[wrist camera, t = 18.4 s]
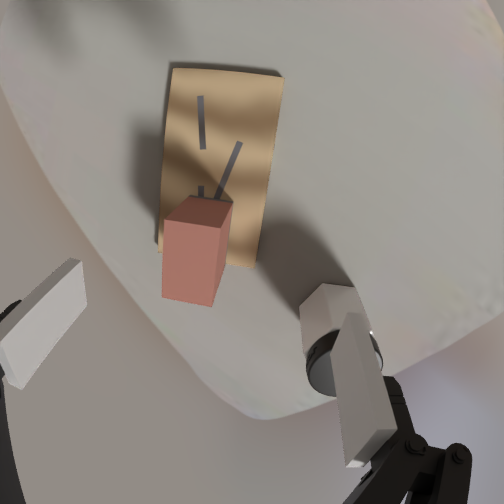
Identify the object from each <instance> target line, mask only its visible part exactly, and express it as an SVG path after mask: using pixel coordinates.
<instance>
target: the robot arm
mask: <svg viewBox="0 0 504 504" xmlns="http://www.w3.org/2000/svg"><path fill="white" fill-rule="evenodd" d="M86 306H87V301H86V294H85V285H84V277H83V268H82V261H81V260H77V259H73V258H69V259H68V260H67V261H66V262H65V263H63V264H62V265H61V266H60V267H59V268H58V269H56V270H55V271H54V272H53V273H52V274H51V275H50V276H48V277H47V278H46V279H45V280H44V281H43V282H42V283H41V284H40V285H39V286H37V287H36V288H35V289H34V290H33V291H32V292H31V293H30V294H29V295H28V296H27V297H26V298H25V299H24V300H23V301H22V300H18V301H16V302H14V303H12V304H11V305H9V306H8V307H7V308H6V309H5V310H4V312H2V313H1V314H0V504H26V502H25V499H24V496H23V492H22V489H21V485H20V481H19V478H18V474H17V469H16V465H15V461H14V456H13V451H12V446H11V440H10V435H9V429H8V422H7V414H6V406H5V398H4V385H3V382H2V377H3V376H4V375H5V376H6V378H7V380H8V382H9V384H11V385H13V386H15V387H17V388H19V389H20V390H22V389H23V388H24V386H25V385H26V384H27V382H28V381H29V379H30V378H31V377H32V375H33V374H34V372H35V371H36V370H37V368H38V367H39V366H40V364H41V363H42V362H43V360H44V359H45V358H46V356H47V355H48V354H49V352H50V351H51V350H52V348H53V347H54V346H55V345H56V343H57V342H58V341H59V339H60V338H61V337H62V336H63V334H64V333H65V332H66V331H67V329H68V328H69V327H70V325H71V324H72V323H73V322H74V321H75V319H76V318H77V317H78V316H79V314H80V313H81V312H82V311H83V310H84V308H85V307H86ZM330 357H331V363H332V370H333V376H334V382H335V389H336V396H337V402H338V410H339V417H340V424H341V432H342V440H343V449H344V458H345V467H364V466H365V465H366V464H367V463H368V462H369V461H371V467H372V468H371V469H370V471H368V472H367V473H366V474H365V475H364V476H363V477H362V478H361V482H360V483H359V484H358V486H357V487H356V488H355V489H354V491H353V492H352V493H351V494H350V495H349V497H348V498H347V499H346V500H345V501H344V502H343V504H400V503H401V502H402V500H403V498H404V497H405V495H406V493H407V492H408V494H407V497H406V500H405V504H467V500H468V493H469V486H470V477H471V468H472V454H471V453H470V451H469V449H468V448H467V447H466V446H465V445H462V444H461V443H454V444H451V445H450V446H449V447H448V448H447V449H446V450H445V449H440V448H435V447H431V446H428V444H427V442H426V440H425V439H424V438H423V437H421V436H420V435H418V434H416V433H415V431H414V428H413V424H412V421H411V417H410V414H409V411H408V408H407V405H406V402H405V399H404V397H403V393H402V390H401V386H400V385H399V383H398V382H397V381H396V380H395V378H394V377H391V376H382V373H381V369H380V366H379V363H378V360H377V357H376V354H375V351H374V347H373V344H372V341H371V338H370V335H369V332H368V329H367V327H366V324H365V321H364V318H363V315H362V314H360V313H353V312H347V314H346V317H345V319H344V322H343V324H342V327H341V329H340V332H339V334H338V337H337V339H336V341H335V344H334V346H333V349H332V351H331V353H330Z"/></svg>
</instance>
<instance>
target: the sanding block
mask: <svg viewBox="0 0 504 504" xmlns="http://www.w3.org/2000/svg"><path fill="white" fill-rule="evenodd" d="M233 203H234V201H227V200H221V199H214V198H208V197H201V196H194V195H189V196H188V197H187V198H186V199H185V200H184V201H183V202H182V203H181V204H180V205H179V206H178V207H177V208H176V209H175V210H174V211H173V212H172V213H170V214H169V215H168V216H167V217H166V218H165V219H164V236H163V262H162V298H167V299H172V300H177V301H182V302H188V303H193V304H198V305H203V306H209V307H212V305H213V302H214V298H215V295H216V292H217V289H218V286H219V283H220V280H221V277H222V274H223V271H224V268H225V263H226V255H227V247H228V240H229V232H230V225H231V218H232V210H233Z"/></svg>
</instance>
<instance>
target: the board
mask: <svg viewBox="0 0 504 504" xmlns="http://www.w3.org/2000/svg"><path fill="white" fill-rule="evenodd" d="M284 79H285V78H282V77H275V76H268V75H261V74H253V73H244V72H234V71H223V70H210V69H191V68H173V73H172V80H171V87H170V95H169V103H168V111H167V120H166V129H165V139H164V150H163V162H162V175H161V191H160V209H159V236H158V253H163V236H164V219H165V218H166V217H167V216H168V215H169V214H170V213H172V212H173V211H174V210H175V209H176V208H177V207H178V206H179V205H180V204H181V203H182V202H183V201H184V200H185V199H186V198H187V197H188V196H189V195H194V196H201V197H208V198H214V199H221V200H227V201H234V203H233V210H232V218H231V225H230V232H229V240H228V247H227V255H226V263H225V264H231V265H237V266H243V267H250V268H255V263H256V256H257V250H258V244H259V238H260V232H261V225H262V219H263V213H264V207H265V200H266V194H267V188H268V181H269V175H270V169H271V162H272V156H273V150H274V143H275V137H276V130H277V124H278V118H279V111H280V105H281V98H282V92H283V85H284Z"/></svg>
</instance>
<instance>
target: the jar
mask: <svg viewBox="0 0 504 504" xmlns="http://www.w3.org/2000/svg"><path fill="white" fill-rule="evenodd" d="M347 312H353V313H360V314H362V315H363V318H364V321H365V324H366V327H367V329H368V332H369V335H370V338H371V341H372V344H373V347H374V351H375V354H376V357H377V360H378V363H379V366H380V369H381V371H382V367H383V359H382V356H381V353H380V350H379V347H378V345H377V342H376V340H375V338H374V334H373V330H372V327H371V325H370V322H369V320H368V317H367V314H366V312H365V309H364V307H363V305H362V302H361V300H360V297H359V295H358V292H357V290H356V288H355V287H348V286H340V285H333V284H325V283H322V284H321V285H320V286H319V287H318V288H317V289H316V290H315V291H314V292H313V293H312V294H311V295H310V296H309V297H308V298H307V299H306V300H305V301H304V302H303V303H302V304H301V305H300V306H299V313H300V324H301V335H302V346H303V354H304V356H305V358H306V372H307V375H308V380H309V383H310V385H311V386H312V387H313V388H314V389H315V390H316V391H318V392H319V393H321V394H324V395H327V396H333V397H337V396H336V389H335V382H334V376H333V370H332V363H331V357H330V353H331V351H332V349H333V346H334V344H335V341H336V339H337V337H338V334H339V332H340V329H341V327H342V324H343V322H344V319H345V317H346V314H347Z"/></svg>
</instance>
